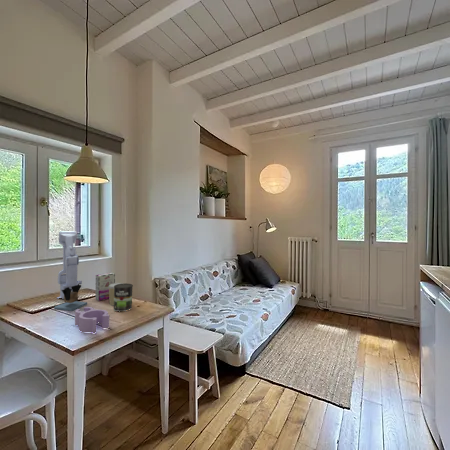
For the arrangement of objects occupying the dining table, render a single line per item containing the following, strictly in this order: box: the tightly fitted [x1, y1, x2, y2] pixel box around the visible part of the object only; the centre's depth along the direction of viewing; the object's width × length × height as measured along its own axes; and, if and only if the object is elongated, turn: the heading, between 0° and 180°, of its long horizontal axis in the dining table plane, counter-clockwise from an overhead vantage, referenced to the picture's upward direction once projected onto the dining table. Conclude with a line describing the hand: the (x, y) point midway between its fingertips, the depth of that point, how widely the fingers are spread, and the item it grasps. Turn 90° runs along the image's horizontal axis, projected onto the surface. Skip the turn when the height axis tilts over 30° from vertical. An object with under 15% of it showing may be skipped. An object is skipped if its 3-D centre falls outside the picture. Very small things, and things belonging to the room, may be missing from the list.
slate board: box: [53, 300, 88, 312], centre depth 152 cm, size 12×12×1 cm
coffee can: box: [113, 282, 134, 313], centre depth 151 cm, size 10×10×14 cm
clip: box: [74, 306, 110, 333], centre depth 126 cm, size 20×12×7 cm, turn 55°
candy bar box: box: [95, 272, 116, 302], centre depth 169 cm, size 11×5×16 cm, turn 143°
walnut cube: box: [63, 292, 79, 303], centre depth 152 cm, size 5×5×5 cm
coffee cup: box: [108, 282, 124, 307], centre depth 160 cm, size 9×9×12 cm
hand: (71, 298), depth 152 cm, fingers closed on walnut cube, 5 cm apart
